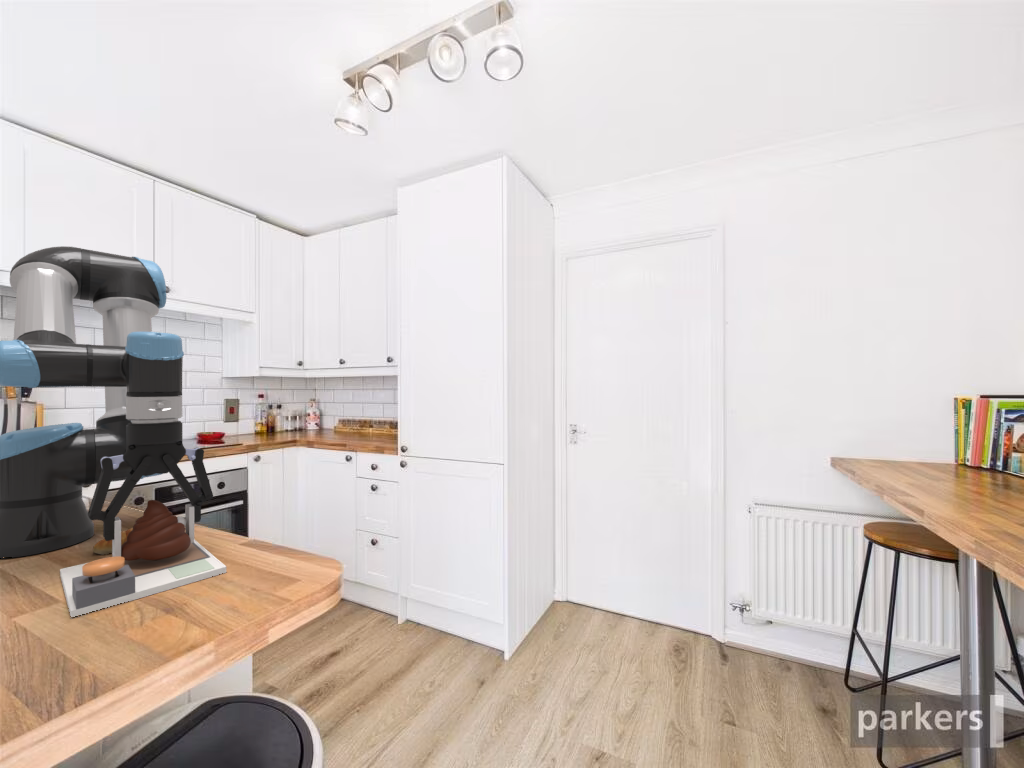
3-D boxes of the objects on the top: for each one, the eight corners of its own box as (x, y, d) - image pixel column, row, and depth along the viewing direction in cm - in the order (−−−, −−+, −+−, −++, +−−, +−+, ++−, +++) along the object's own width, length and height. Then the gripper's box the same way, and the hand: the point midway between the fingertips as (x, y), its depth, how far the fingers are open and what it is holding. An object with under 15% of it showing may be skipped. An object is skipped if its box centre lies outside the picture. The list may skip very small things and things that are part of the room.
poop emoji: (104, 564, 68) (104, 507, 68) (145, 544, 77) (145, 493, 77) (168, 562, 69) (168, 506, 69) (203, 543, 78) (203, 492, 77)
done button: (80, 586, 61) (80, 563, 61) (121, 576, 64) (121, 553, 64) (84, 596, 58) (84, 572, 58) (126, 584, 61) (126, 561, 61)
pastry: (94, 560, 75) (94, 539, 75) (91, 551, 80) (91, 531, 80) (161, 546, 82) (161, 526, 82) (155, 537, 87) (155, 519, 87)
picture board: (59, 575, 69) (60, 554, 69) (193, 543, 83) (193, 525, 83) (71, 618, 56) (71, 592, 56) (226, 572, 70) (226, 551, 70)
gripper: (66, 427, 62) (65, 577, 62) (234, 418, 79) (234, 536, 79) (62, 424, 67) (61, 563, 67) (221, 416, 84) (221, 527, 84)
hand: (155, 549), depth 73 cm, fingers closed on poop emoji, 9 cm apart
